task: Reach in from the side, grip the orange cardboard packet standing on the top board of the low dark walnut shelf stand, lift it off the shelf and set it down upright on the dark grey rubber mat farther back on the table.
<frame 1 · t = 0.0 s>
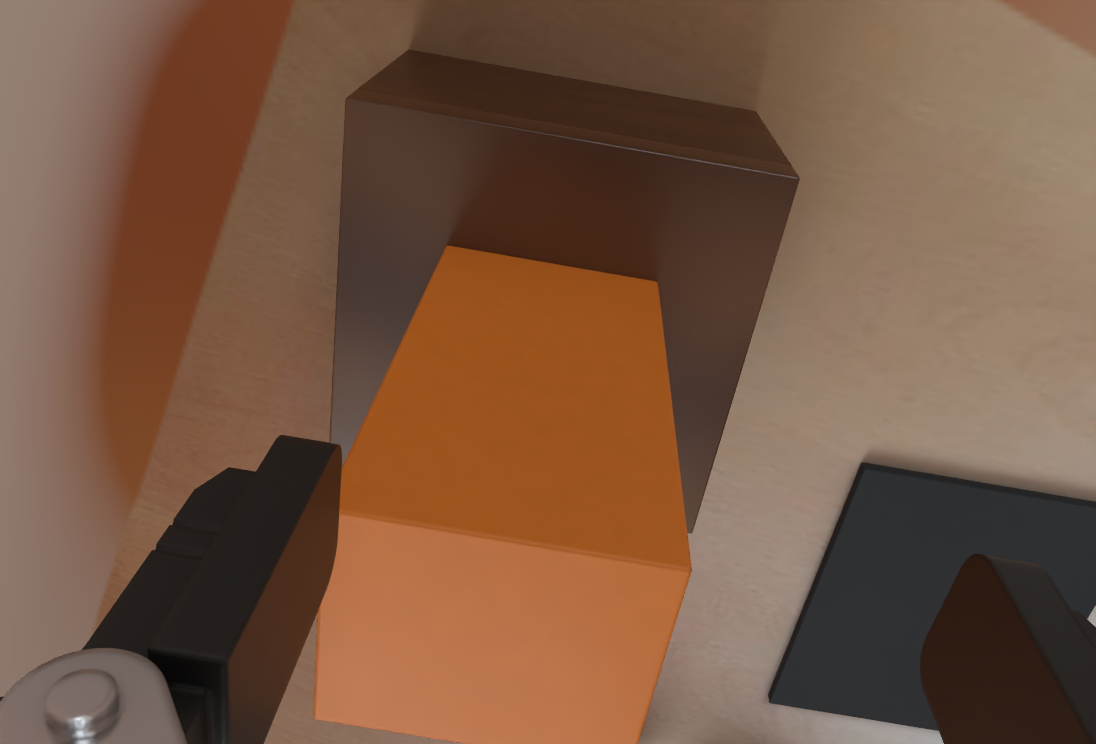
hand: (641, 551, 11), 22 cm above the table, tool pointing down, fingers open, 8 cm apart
shelf: (554, 245, 33), on the table
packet: (538, 341, 26), point 8 cm above the table, touching shelf
mat: (940, 610, 40), on the table
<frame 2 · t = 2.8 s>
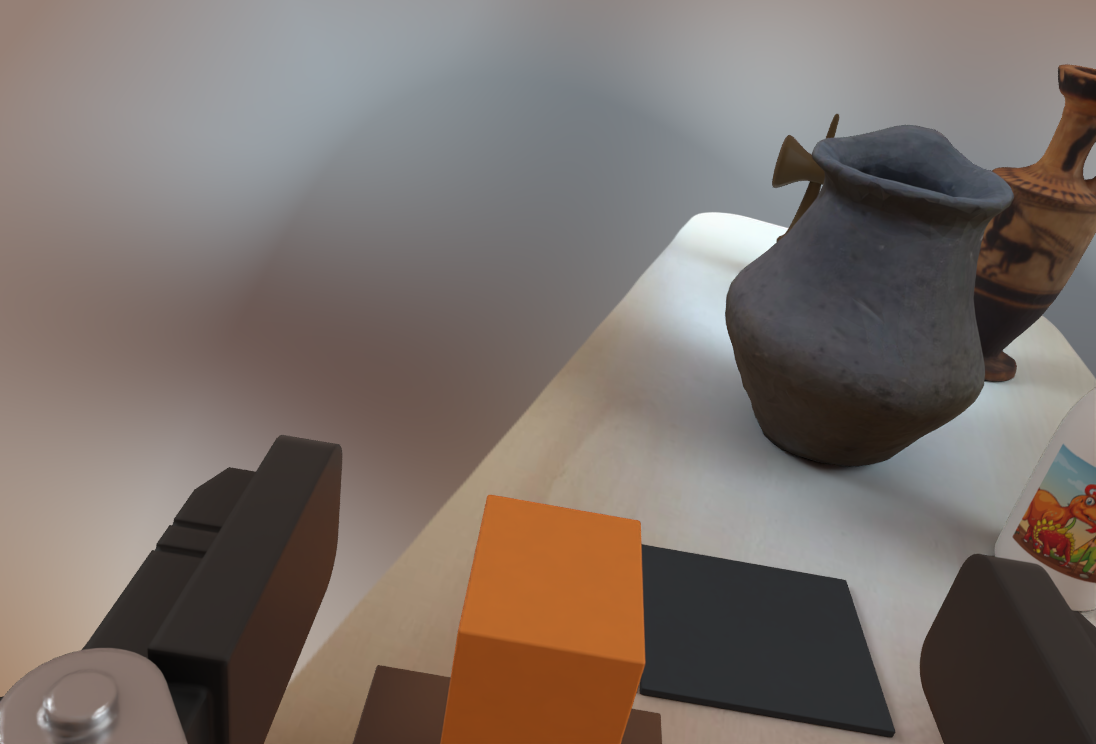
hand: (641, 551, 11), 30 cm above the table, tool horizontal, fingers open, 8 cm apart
vase: (970, 363, 94), on the table
milk bottle: (1045, 577, 63), on the table
dark grey clay pot: (814, 430, 76), on the table
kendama: (783, 282, 106), on the table
mat: (752, 634, 53), on the table
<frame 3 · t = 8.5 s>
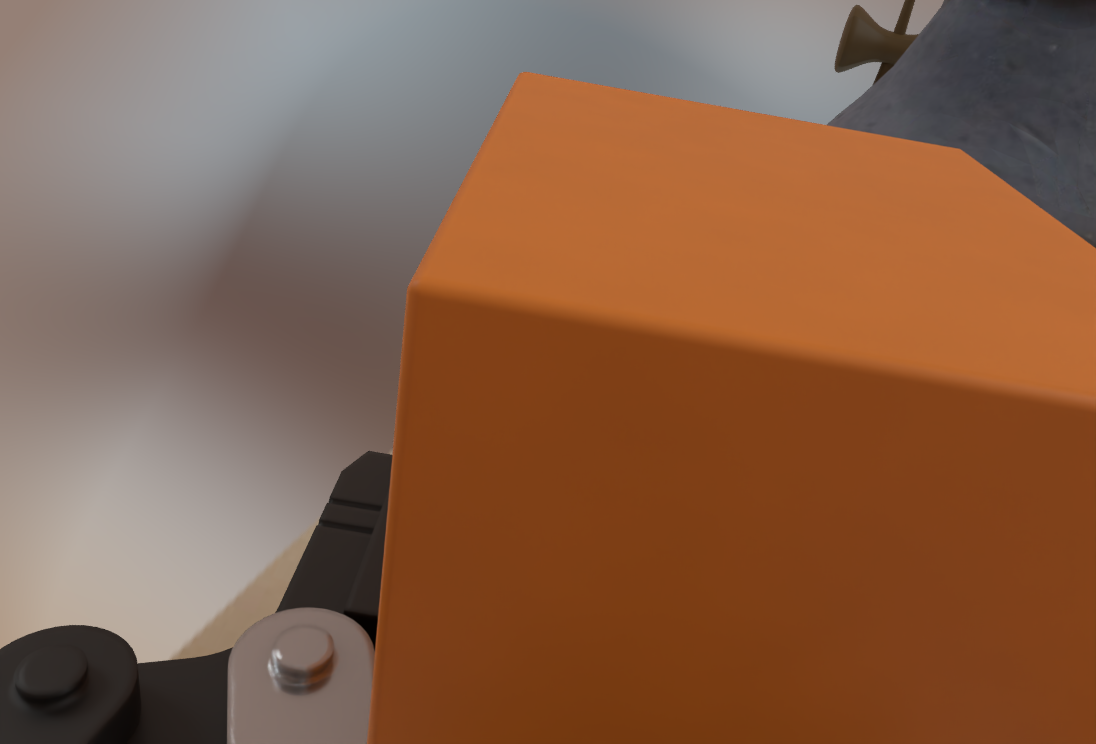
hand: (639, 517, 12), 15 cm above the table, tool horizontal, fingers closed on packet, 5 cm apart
dark grey clay pot: (922, 341, 58), on the table
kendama: (846, 193, 87), on the table
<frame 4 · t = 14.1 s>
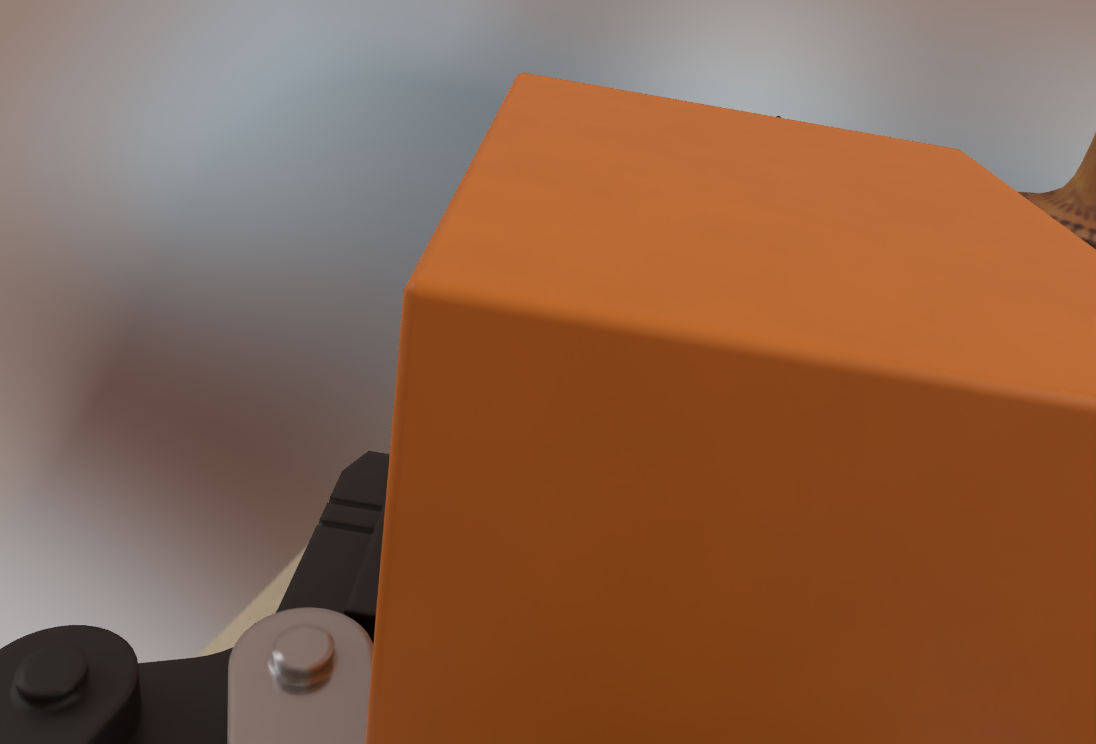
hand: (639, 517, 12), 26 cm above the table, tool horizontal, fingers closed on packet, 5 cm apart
vase: (968, 467, 67), on the table
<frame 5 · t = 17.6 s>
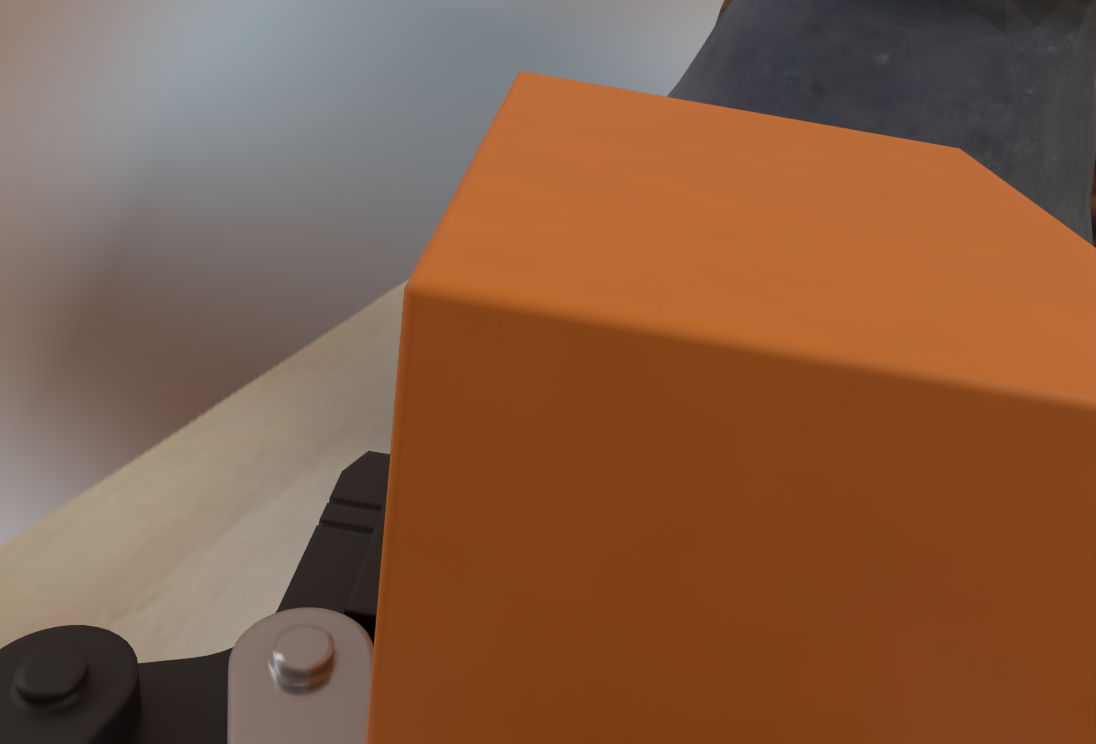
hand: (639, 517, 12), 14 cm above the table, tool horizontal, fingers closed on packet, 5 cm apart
vase: (1024, 353, 58), on the table
dark grey clay pot: (752, 478, 40), on the table
when the fingers open (7 cm above the table, at t = 20.0 s): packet stays where it is, resting on mat.
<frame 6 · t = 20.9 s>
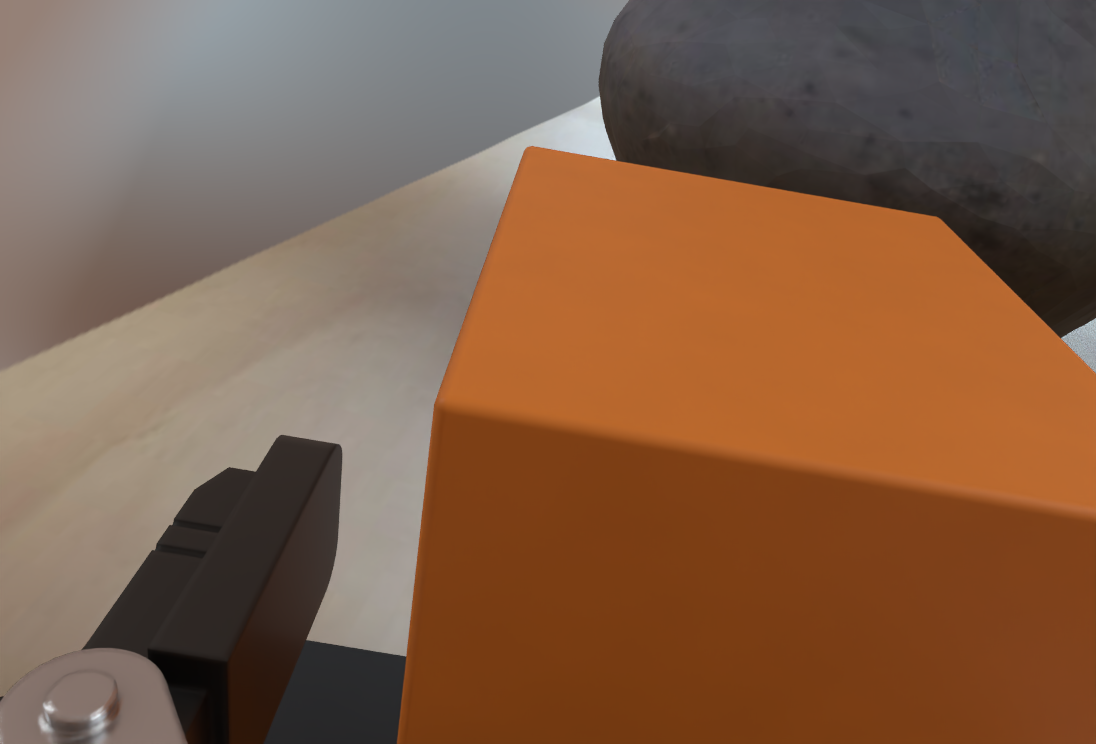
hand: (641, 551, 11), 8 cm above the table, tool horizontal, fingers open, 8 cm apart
dark grey clay pot: (799, 353, 37), on the table
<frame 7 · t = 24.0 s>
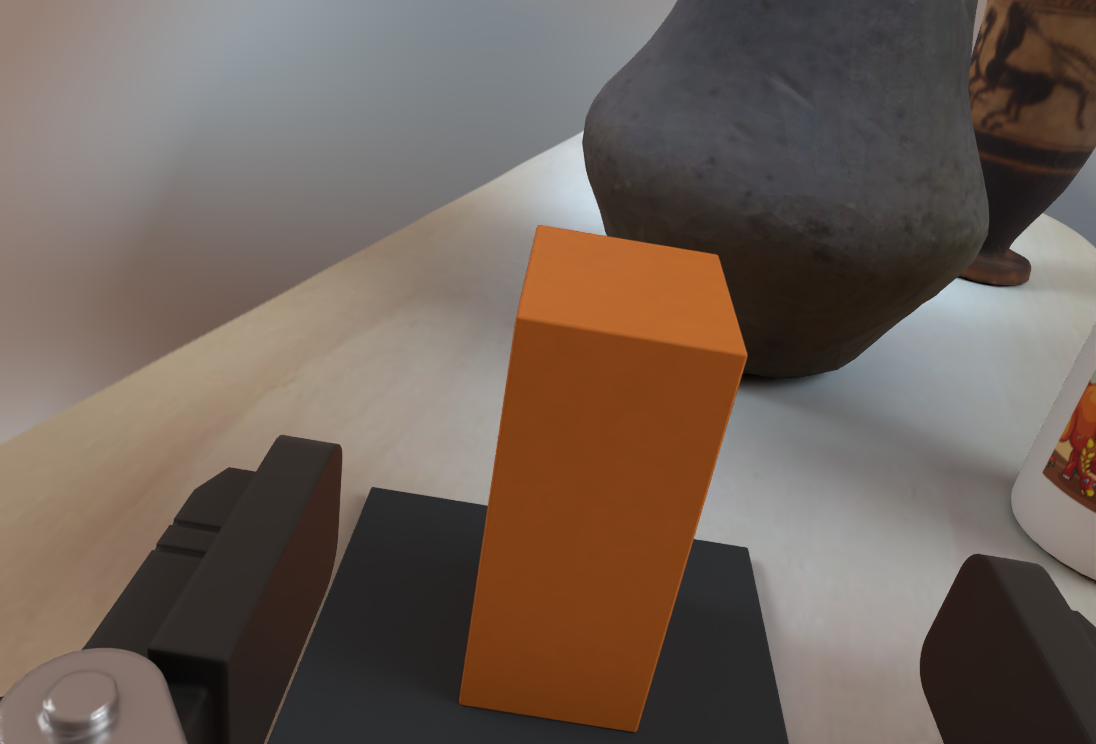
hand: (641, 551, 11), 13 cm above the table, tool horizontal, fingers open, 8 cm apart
vase: (967, 266, 68), on the table
dark grey clay pot: (732, 335, 50), on the table
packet: (553, 639, 27), resting on mat
mat: (548, 649, 27), on the table
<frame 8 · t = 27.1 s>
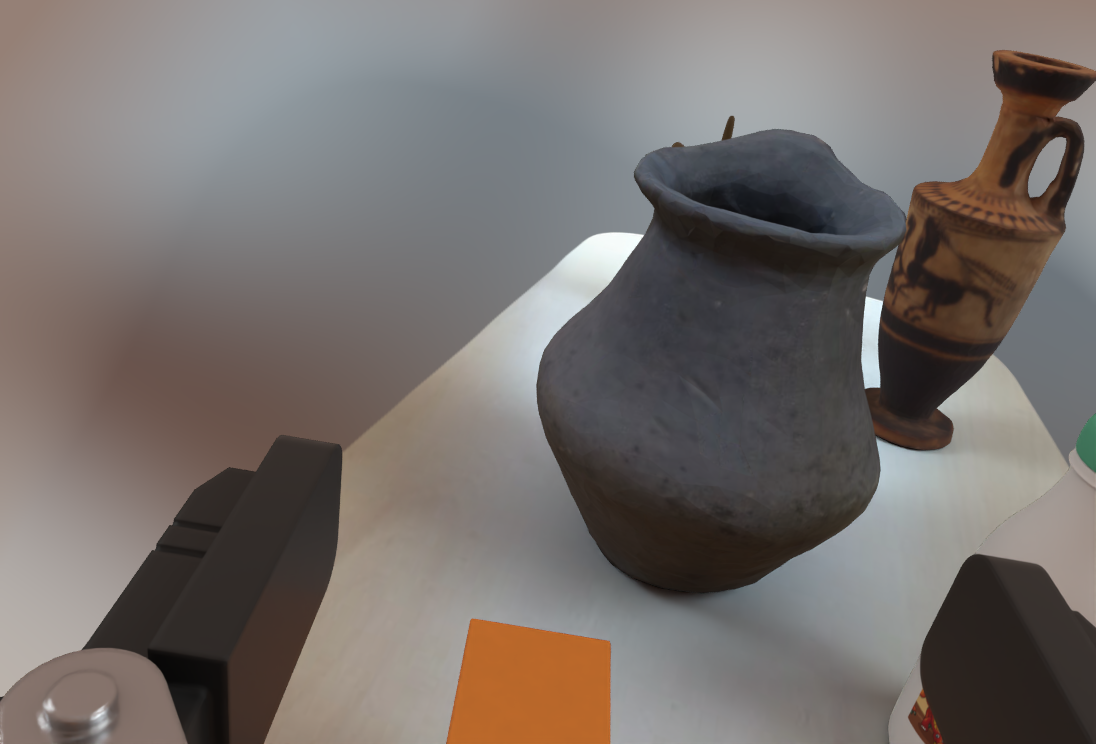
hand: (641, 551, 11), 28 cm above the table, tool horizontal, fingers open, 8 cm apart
vase: (897, 425, 76), on the table
dark grey clay pot: (670, 533, 58), on the table
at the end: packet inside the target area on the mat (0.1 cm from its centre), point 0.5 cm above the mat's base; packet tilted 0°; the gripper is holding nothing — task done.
